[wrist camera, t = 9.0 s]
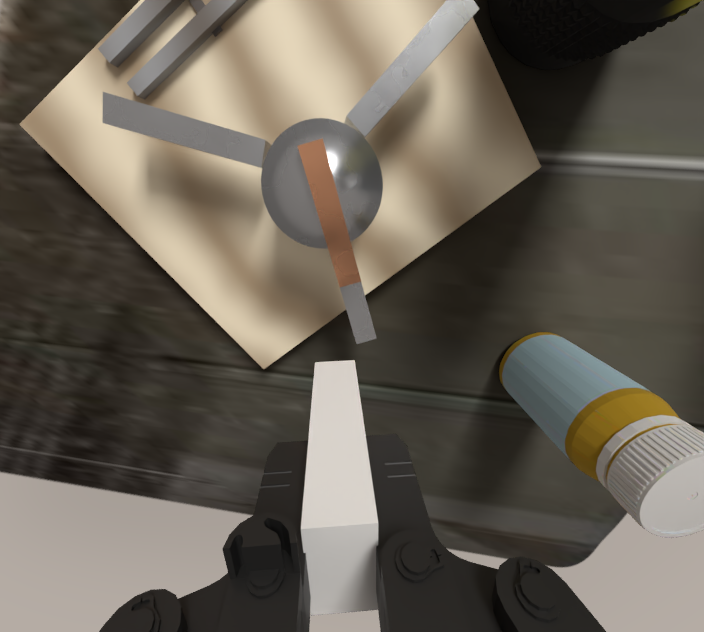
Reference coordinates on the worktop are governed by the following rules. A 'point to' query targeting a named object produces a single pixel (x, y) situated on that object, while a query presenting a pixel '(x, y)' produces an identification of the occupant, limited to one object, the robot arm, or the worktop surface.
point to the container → (577, 27)
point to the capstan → (314, 158)
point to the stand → (268, 123)
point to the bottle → (612, 431)
